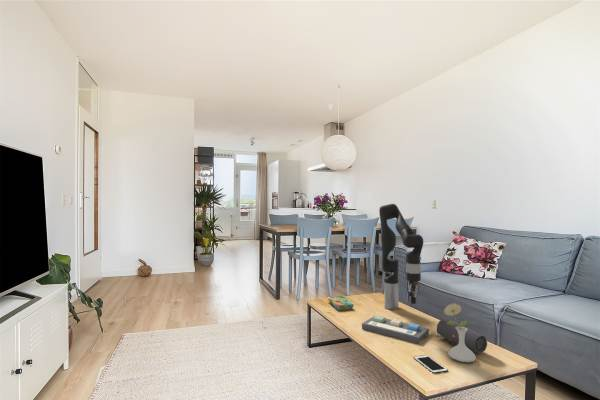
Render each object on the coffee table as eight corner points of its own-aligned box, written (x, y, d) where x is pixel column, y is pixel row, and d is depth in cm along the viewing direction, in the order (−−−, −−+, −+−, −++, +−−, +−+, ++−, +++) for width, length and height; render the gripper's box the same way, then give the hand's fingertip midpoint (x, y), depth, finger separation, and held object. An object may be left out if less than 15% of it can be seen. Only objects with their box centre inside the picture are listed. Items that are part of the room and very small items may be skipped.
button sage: (377, 321, 191) (377, 315, 191) (385, 323, 188) (385, 317, 188) (373, 323, 187) (373, 317, 187) (381, 325, 184) (381, 319, 184)
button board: (374, 320, 196) (374, 314, 196) (428, 333, 176) (428, 327, 176) (361, 328, 184) (361, 322, 184) (418, 343, 164) (418, 336, 164)
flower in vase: (473, 355, 151) (473, 301, 151) (478, 366, 140) (477, 308, 141) (443, 351, 155) (442, 298, 156) (445, 362, 145) (445, 306, 145)
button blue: (410, 329, 179) (410, 322, 179) (420, 331, 175) (420, 325, 176) (407, 332, 175) (407, 325, 175) (416, 334, 172) (416, 327, 172)
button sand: (393, 325, 185) (393, 318, 185) (402, 327, 182) (402, 320, 182) (389, 327, 181) (389, 321, 181) (398, 329, 178) (398, 323, 178)
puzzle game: (337, 304, 214) (327, 296, 234) (337, 311, 214) (327, 302, 234) (353, 302, 217) (342, 294, 237) (353, 309, 217) (342, 301, 237)
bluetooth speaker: (435, 339, 169) (435, 319, 170) (448, 336, 173) (448, 317, 173) (474, 357, 149) (473, 336, 149) (488, 354, 152) (487, 332, 152)
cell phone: (427, 356, 151) (427, 354, 151) (449, 372, 136) (449, 370, 136) (412, 358, 149) (412, 356, 149) (433, 375, 135) (433, 372, 135)
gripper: (410, 268, 183) (411, 299, 183) (401, 272, 173) (402, 305, 172) (424, 270, 178) (424, 301, 178) (416, 274, 168) (416, 308, 168)
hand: (413, 303), depth 175 cm, fingers closed
